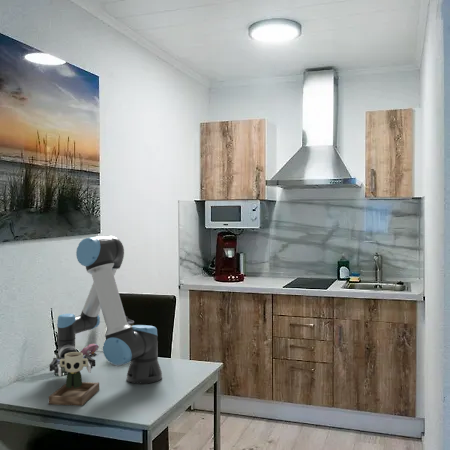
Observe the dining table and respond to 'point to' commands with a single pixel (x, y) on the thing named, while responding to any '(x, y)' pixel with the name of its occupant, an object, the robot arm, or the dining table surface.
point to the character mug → (74, 368)
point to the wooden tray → (74, 394)
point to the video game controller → (89, 349)
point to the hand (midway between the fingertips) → (75, 371)
